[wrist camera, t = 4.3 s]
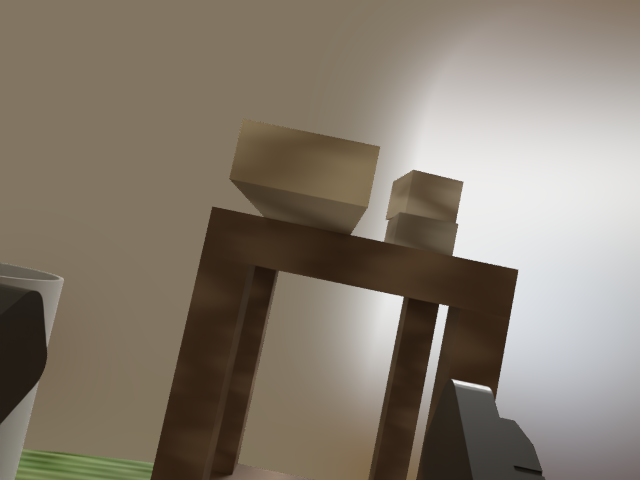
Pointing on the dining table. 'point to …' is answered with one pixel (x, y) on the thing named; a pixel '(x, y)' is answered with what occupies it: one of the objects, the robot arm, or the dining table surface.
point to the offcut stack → (424, 212)
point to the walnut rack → (252, 318)
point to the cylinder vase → (8, 437)
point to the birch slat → (304, 176)
